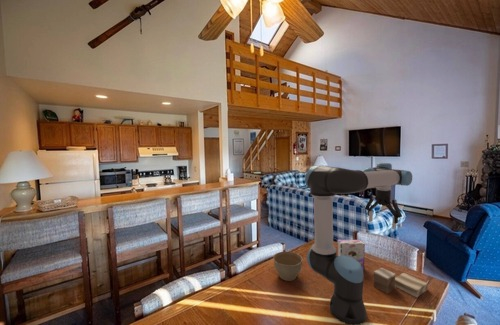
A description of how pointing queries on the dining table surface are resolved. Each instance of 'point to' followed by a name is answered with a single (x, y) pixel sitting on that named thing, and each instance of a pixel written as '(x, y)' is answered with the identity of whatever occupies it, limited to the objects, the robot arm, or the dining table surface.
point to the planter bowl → (288, 265)
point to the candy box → (352, 250)
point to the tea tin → (384, 280)
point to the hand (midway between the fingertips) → (381, 224)
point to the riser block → (410, 284)
